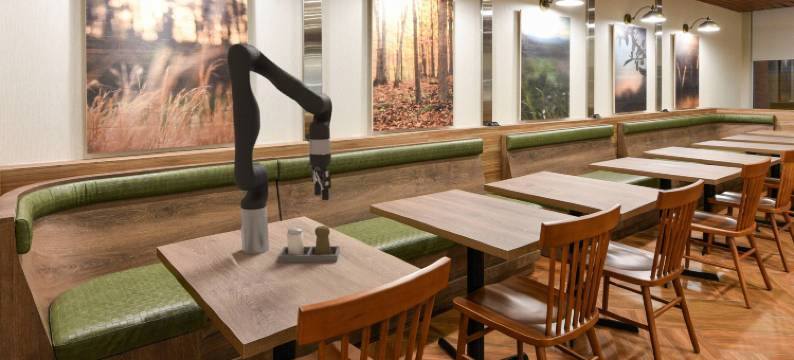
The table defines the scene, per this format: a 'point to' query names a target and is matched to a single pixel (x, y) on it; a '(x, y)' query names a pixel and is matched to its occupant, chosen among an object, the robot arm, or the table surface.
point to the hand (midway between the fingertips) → (321, 197)
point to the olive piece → (322, 241)
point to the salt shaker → (295, 241)
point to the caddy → (309, 255)
